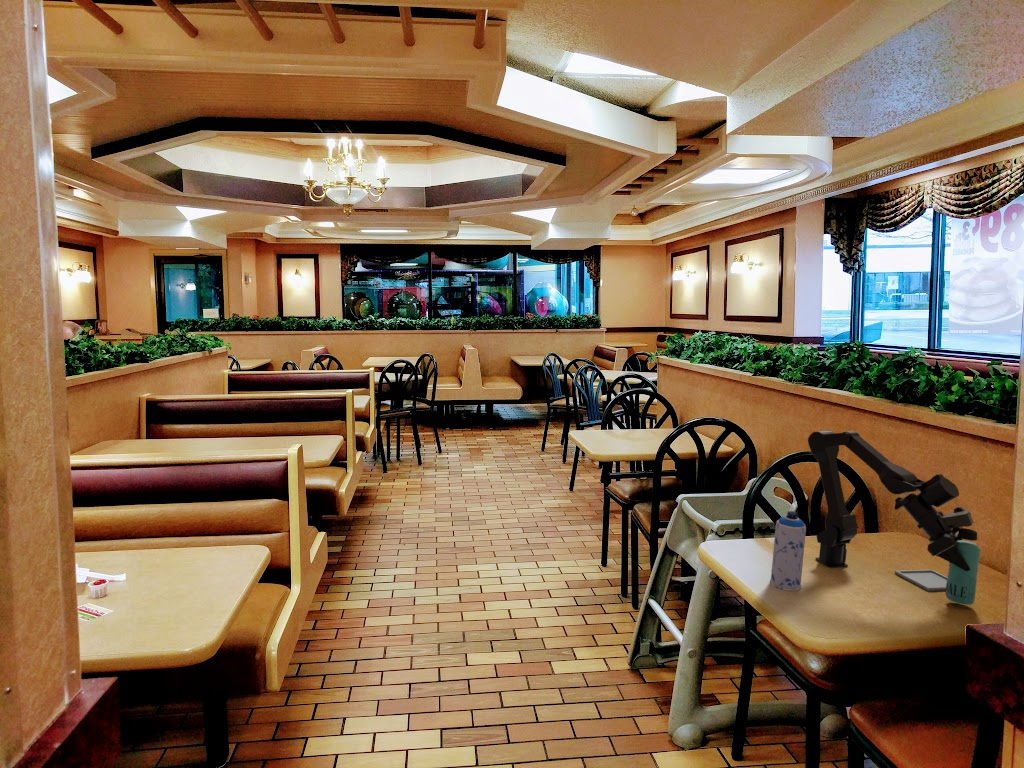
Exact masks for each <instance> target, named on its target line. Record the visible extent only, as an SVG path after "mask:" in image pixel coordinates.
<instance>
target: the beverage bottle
mask: <svg viewBox="0 0 1024 768" xmlns="http://www.w3.org/2000/svg"><path fill="white" fill-rule="evenodd" d="M957 534H958V537H959V538H962V539H963V540H958V541H959V547H958V550H959V551H960V553H961V554H962V556H963V558H964V559H965V561H966V562H967V564H968V565H969V567H970V570H969V571H965V570H963V569H961V568H959V567H958V566H956V565H954V564H952V563H950V562H948V566H949V567H948V572H947V575H946V577H948V581H947V583H946V586H947V588H946V591H945V597H946V599H947V600H949V601H952V603H953V602H954V603H956V604H962V605H967V606H968V605H969V606H970V605H973V604H974V603H975V599H976V592H977V581H978V571H979V565H980V556H981V550H982V549H981V547H980V546H978V545H977V544H976V543H975V541H977V540H978V532H977V531H976V530H974V529H971V528H966V527H963V528H960V529H959V531H958V532H957ZM958 541H957V542H958Z"/></svg>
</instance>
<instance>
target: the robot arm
mask: <svg viewBox="0 0 1024 768" xmlns="http://www.w3.org/2000/svg"><path fill="white" fill-rule="evenodd" d="M807 443H808V447H809V449H810V453H811V454H812V456H813V457H814V458H815V459H816V461H817V462H818V468H819V472H820V477H821V482H822V487H823V492H824V498H825V502H826V507H827V513H826V517H825V520H824V525H825V526H824V527H825V529H823V530H821V532H819V533H817V534H816V541H817V543H819V544H820V545H819V546H820V547H819V556H818V557H815V560H816V561H818V562H819V563H821V564H823V565H825V566H826V567H829V568H845V567H848V566H849V564H847V563H846V560H847V551H848V550H847V544H850V543H851V541H852V540H853V539H854V538H855V537H856V535H857V534H858V529H859V528H860V527H859V525H858V523H857V515H856V513H850V511H848V508H847V507H846V501H845V497H844V492H843V487H842V483H841V477H840V471H839V467H838V462H837V459H838V455H839V451H840V446H845V448H847V449H848V450H849V451H850V452H852V453H853V454H855V456H856V457H858V458H859V459H860V460H861V461H862V462H863V463H865V465H867V466H868V467H869V469H871V470H872V471H874V473H876V474H877V476H878V478H879V481H880V482H881V484H882V485H883V486H884V488H886V490H887V491H888V492H889V493H891V494H893V495H904V494H906V495H905V496H904V497H899V496H898V497H896V499H894V500H895V501H894V502H895V505H894V510H899V509H901V508H902V507H903V508H904V510H906V512H907V513H908V514H909V516H911V517H912V519H913V520H914V521H915V522H916V523H917V525H916V527H917V528H918V529H919V530H920V529H922V531H923V532H924V533H925V534H926V535H927V537H928V540H929V543H928V544H927V551H928V553H929V554H930V555H931V556H932V557H934V556H936V558H937V557H939V558H941V559H943V561H946V562H948V563H949V562H950V563H952V564H954V565H956V566H958V567H959V568H961V569H963V570H965V571H969V570H970V567H969V565H968V564H967V562H966V561H965V559H964V558H963V556H962V554H961V553H960V551H959V550H958V547H959V541H958V540H964V539H962V538H959V537H958V532H959V529H960V528H966V527H967V528H968V527H971V526H973V524H974V521H973V518H972V514H971V512H970V510H969V509H965V508H963V507H962V506H958V507H957V506H956V507H955V508H953V512H950V513H947V514H945V513H944V512H943V511H942V510H941V511H940V510H937V509H936V508H940V507H942V506H943V505H945V504H948V502H950V501H952V500H955V499H956V498H957V497H959V495H960V492H959V491H960V490H959V489H958V487H957V485H956V484H955V483H953V482H952V481H951V480H950V479H948V478H947V477H945V476H944V474H942V473H937V474H935V475H934V476H932V477H931V478H930V479H929V480H927V481H925V480H923V479H920V478H918V477H917V476H916V475H915V473H913V472H911V471H909V470H908V469H906V468H904V467H903V466H900V465H898V464H895V463H894V462H892V461H890V460H889V459H888V458H886V457H885V455H883V454H881V452H879V451H878V450H877V449H876V448H874V447H873V446H872V445H871V444H870V443H868V442H867V440H866V439H864V438H863V437H862V436H860V434H859V433H858V432H857V431H855V430H850V431H849V430H848V431H843V432H838V433H835V432H834V431H832V430H822V431H821V430H820V431H818V430H817V431H814V432H811V433H810V435H809V436H808V438H807ZM918 491H919V493H917V494H915V493H913V492H918ZM935 507H936V508H935ZM957 541H958V542H957Z"/></svg>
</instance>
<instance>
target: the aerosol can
mask: <svg viewBox="0 0 1024 768" xmlns="http://www.w3.org/2000/svg"><path fill="white" fill-rule="evenodd" d="M806 526H807V525H806V524H805V523H804V521H803V520H802V519H800V518H799V517H798V515H797V512H796V511H792V510H791V511H787V515H784V516H781V517H779V519H778V520H776V522H775V529H774V542H773V552H772V563H771V564H772V565H771V575H770V580H769V584H770V585H772V586H773V587H775V588H777V589H780V590H783V591H791V592H796V591H799V590H801V589H802V584H801V583H802V574H803V573H802V572H803V565H804V564H803V562H804V552H805V544H806V543H805V542H806V533H807V527H806Z"/></svg>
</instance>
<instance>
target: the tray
mask: <svg viewBox="0 0 1024 768" xmlns="http://www.w3.org/2000/svg"><path fill="white" fill-rule="evenodd" d="M894 574H895V575H896V576H898V577H901V578H902V579H904V580H906V581H908V582H910V583H912V584H913V585H916V586H917V587H920V588H921V589H922V590H924V591H927V592H940V591H941V592H944V591H946V588H947V586H946V583H947V581H948V576H947V575H944V574H942V573H940V572H937V571H936V570H933V569H910V570H909V569H905V570H904V569H903V570H895V571H894Z"/></svg>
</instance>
